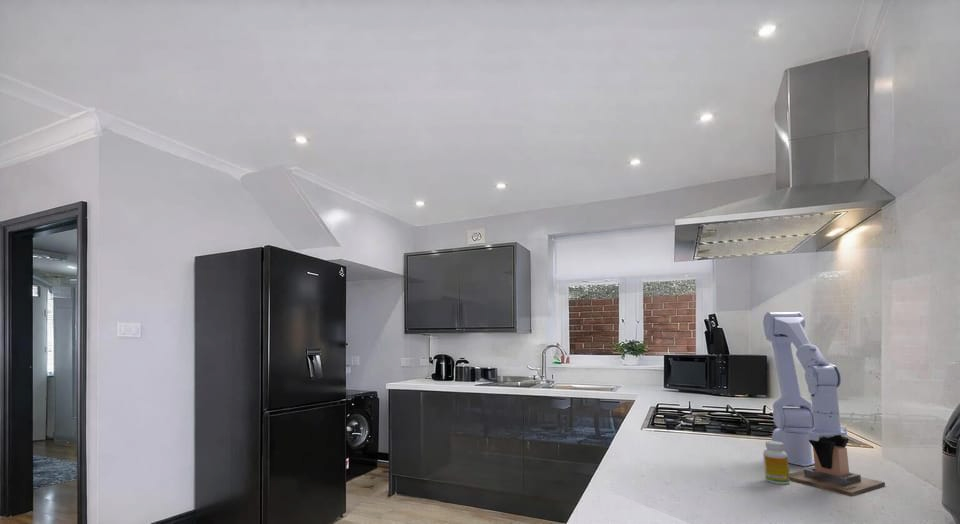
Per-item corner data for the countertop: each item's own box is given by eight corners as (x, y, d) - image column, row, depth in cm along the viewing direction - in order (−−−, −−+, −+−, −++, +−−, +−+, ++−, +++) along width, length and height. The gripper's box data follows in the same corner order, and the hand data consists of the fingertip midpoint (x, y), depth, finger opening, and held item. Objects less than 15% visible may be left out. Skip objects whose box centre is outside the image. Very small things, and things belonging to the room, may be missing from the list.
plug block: (815, 472, 127) (812, 444, 128) (823, 470, 129) (821, 443, 130) (841, 478, 122) (838, 449, 123) (849, 476, 124) (846, 447, 125)
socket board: (782, 478, 129) (781, 468, 129) (816, 469, 136) (815, 460, 137) (852, 496, 115) (850, 485, 115) (885, 485, 122) (884, 475, 123)
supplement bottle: (793, 485, 123) (789, 445, 124) (769, 484, 124) (766, 444, 125) (784, 479, 128) (781, 440, 129) (762, 478, 129) (759, 439, 130)
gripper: (827, 416, 121) (833, 474, 119) (857, 412, 128) (863, 466, 126) (797, 412, 127) (802, 467, 125) (827, 408, 134) (833, 460, 132)
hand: (831, 466), depth 126 cm, fingers closed on plug block, 4 cm apart
